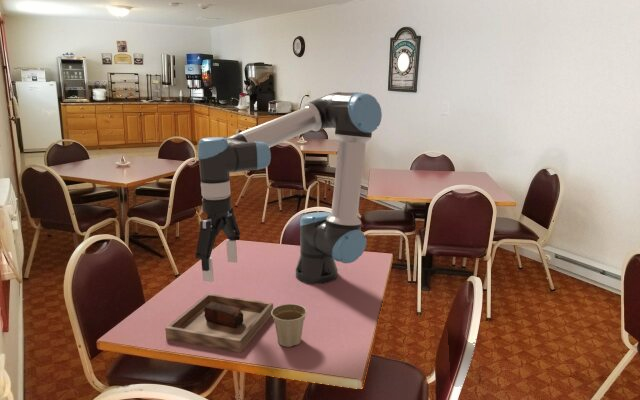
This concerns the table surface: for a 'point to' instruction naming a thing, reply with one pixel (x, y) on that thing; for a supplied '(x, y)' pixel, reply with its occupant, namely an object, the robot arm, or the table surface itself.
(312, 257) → the robot arm
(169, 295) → the table surface
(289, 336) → the flower pot
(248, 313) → the tray
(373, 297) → the table surface
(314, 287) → the table surface
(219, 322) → the brick
